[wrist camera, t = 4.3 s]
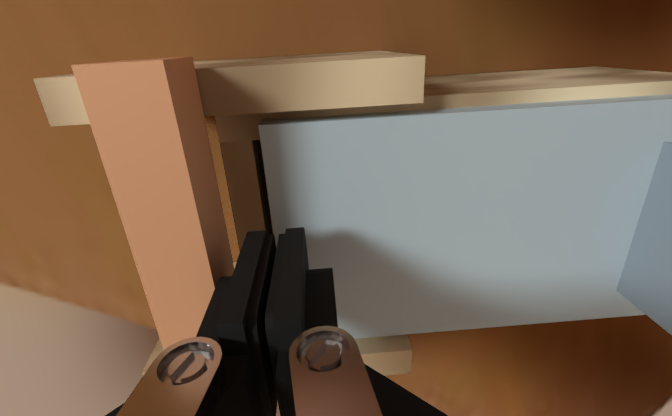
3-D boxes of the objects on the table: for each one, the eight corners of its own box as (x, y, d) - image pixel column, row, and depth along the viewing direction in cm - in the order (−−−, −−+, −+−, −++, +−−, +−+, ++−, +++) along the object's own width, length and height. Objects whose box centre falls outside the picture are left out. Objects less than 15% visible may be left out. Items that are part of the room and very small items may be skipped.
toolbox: (601, 37, 16) (793, 33, 10) (553, 256, 21) (661, 351, 15) (148, 63, 16) (33, 78, 9) (202, 282, 21) (150, 395, 14)
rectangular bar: (192, 56, 9) (162, 59, 7) (258, 394, 14) (251, 445, 12) (119, 60, 9) (70, 65, 7) (211, 398, 14) (196, 451, 12)
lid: (766, 88, 12) (1167, 127, 6) (681, 297, 15) (891, 442, 10) (261, 119, 11) (212, 193, 6) (289, 329, 15) (275, 501, 9)
